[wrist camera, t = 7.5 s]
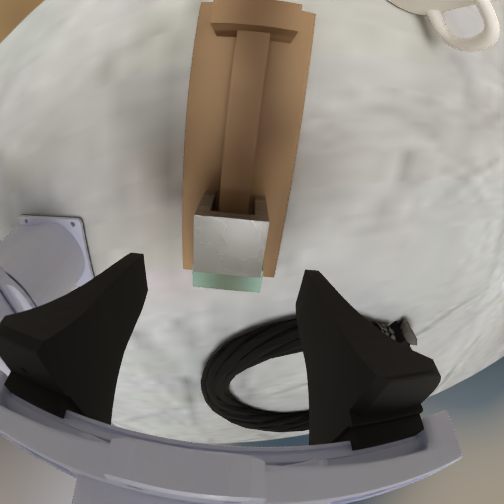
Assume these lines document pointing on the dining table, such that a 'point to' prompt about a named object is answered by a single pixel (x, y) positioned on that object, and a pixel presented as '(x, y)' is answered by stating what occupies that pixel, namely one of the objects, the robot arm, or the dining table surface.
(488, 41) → the cup
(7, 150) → the dining table surface
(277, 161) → the rail
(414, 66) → the dining table surface
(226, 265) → the keeper
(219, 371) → the cable lock
